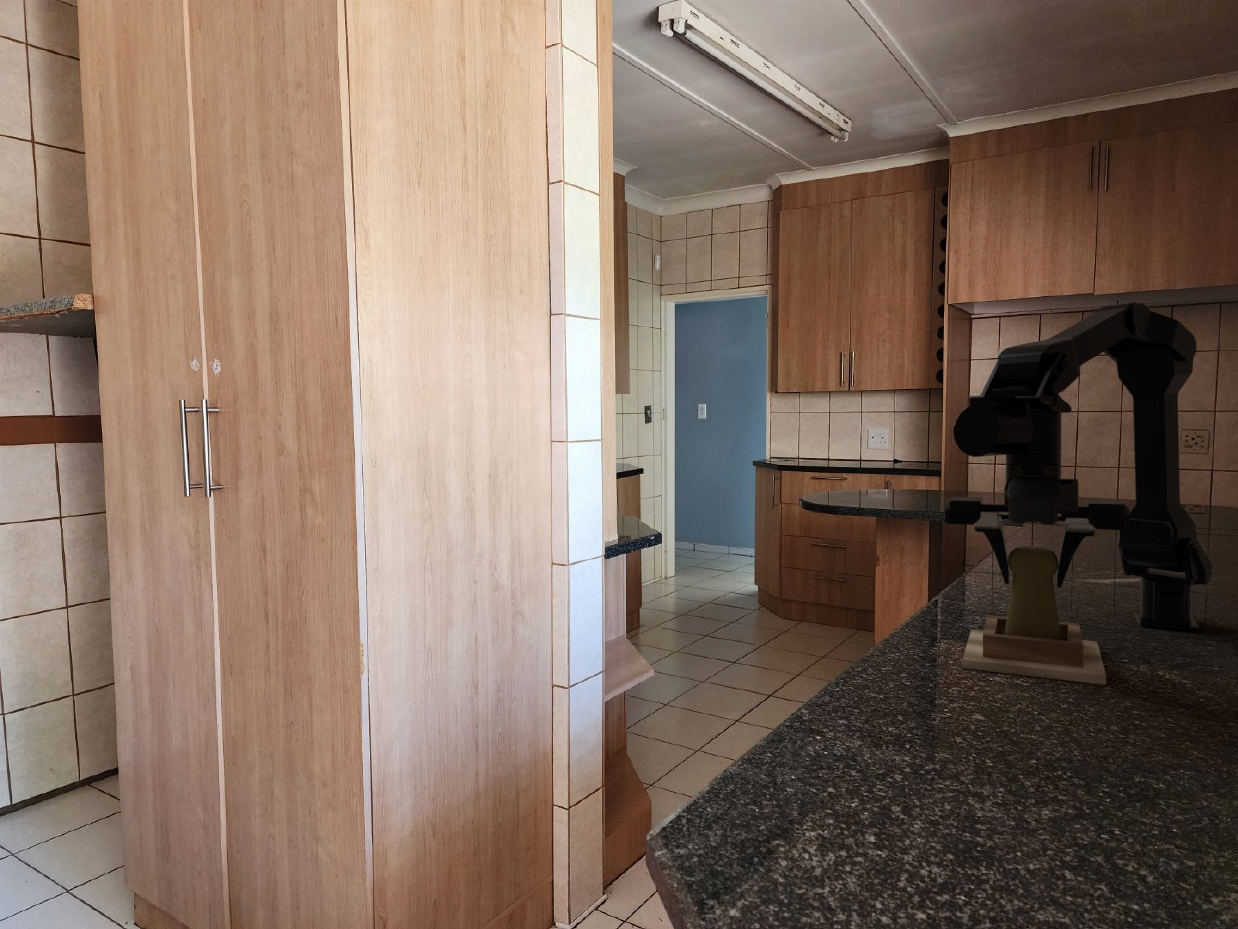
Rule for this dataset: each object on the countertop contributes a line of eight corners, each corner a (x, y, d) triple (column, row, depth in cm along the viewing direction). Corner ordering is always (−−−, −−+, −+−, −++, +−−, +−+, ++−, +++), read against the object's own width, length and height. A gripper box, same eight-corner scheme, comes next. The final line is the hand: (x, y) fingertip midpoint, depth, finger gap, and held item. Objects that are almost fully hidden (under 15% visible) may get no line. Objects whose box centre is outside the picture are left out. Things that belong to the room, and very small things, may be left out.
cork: (1069, 648, 89) (1070, 552, 88) (1012, 646, 90) (1012, 551, 90) (1051, 633, 95) (1052, 543, 94) (997, 632, 96) (998, 543, 95)
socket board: (971, 637, 102) (971, 610, 102) (1096, 649, 95) (1097, 621, 95) (962, 668, 90) (962, 638, 90) (1106, 685, 83) (1106, 652, 83)
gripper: (939, 457, 89) (940, 593, 89) (1136, 456, 80) (1134, 608, 81) (949, 452, 98) (949, 575, 99) (1125, 451, 90) (1123, 586, 91)
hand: (1032, 585), depth 92 cm, fingers closed on cork, 5 cm apart
